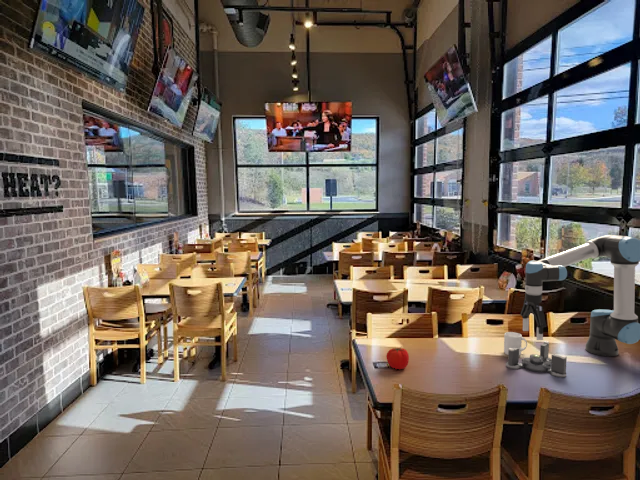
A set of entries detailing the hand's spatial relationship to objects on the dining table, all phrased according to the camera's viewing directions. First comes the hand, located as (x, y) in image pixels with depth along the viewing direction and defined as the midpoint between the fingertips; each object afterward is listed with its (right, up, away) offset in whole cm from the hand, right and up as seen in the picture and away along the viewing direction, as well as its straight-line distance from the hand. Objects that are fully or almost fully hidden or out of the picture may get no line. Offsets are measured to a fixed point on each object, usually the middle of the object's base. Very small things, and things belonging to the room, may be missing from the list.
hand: (532, 335), depth 216 cm
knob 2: (+10, -14, +9) cm, 19 cm away
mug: (+1, -15, +20) cm, 24 cm away
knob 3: (+9, -16, -8) cm, 20 cm away
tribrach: (+1, -16, +2) cm, 16 cm away
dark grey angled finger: (-8, -15, +2) cm, 17 cm away
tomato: (-67, -17, +4) cm, 69 cm away
